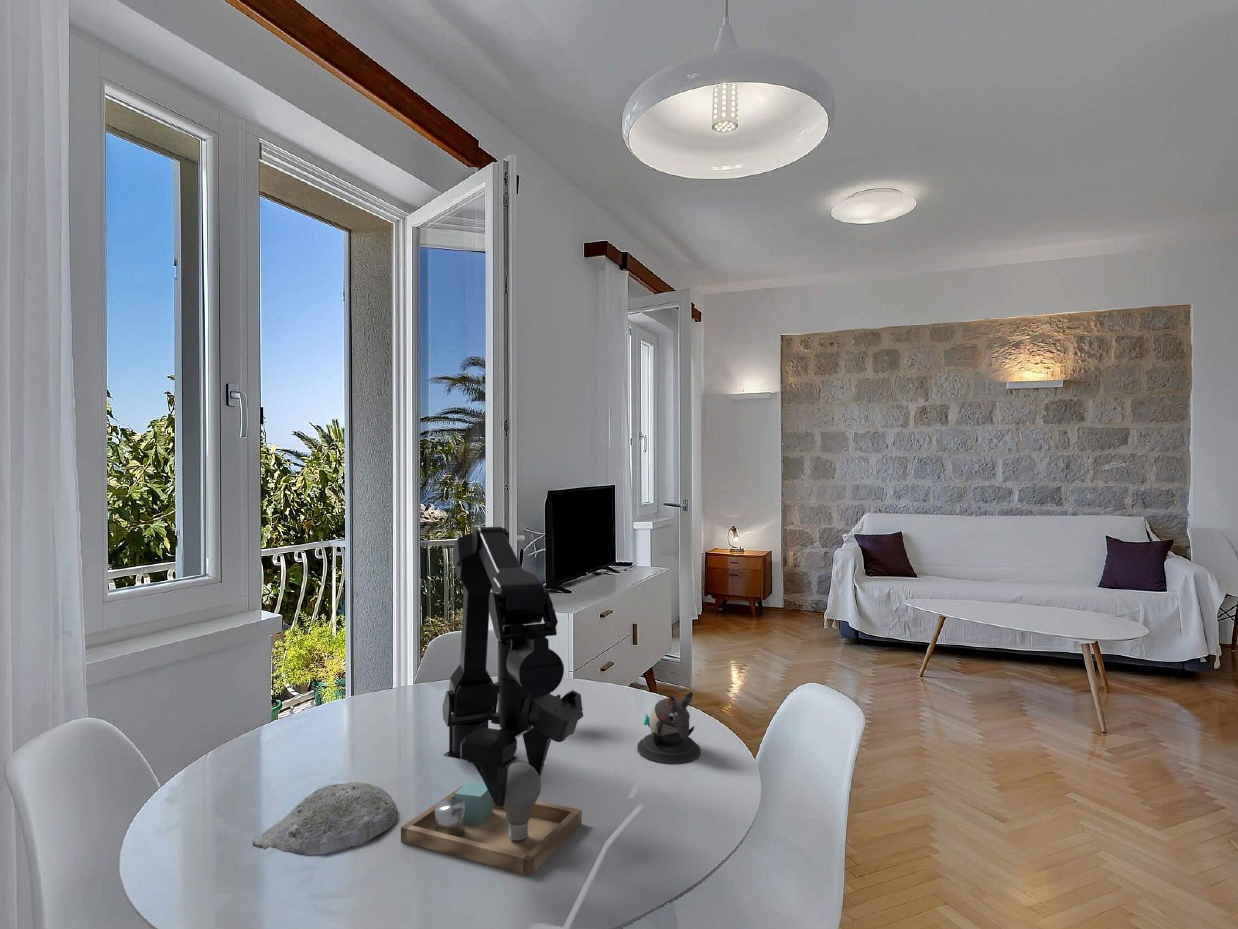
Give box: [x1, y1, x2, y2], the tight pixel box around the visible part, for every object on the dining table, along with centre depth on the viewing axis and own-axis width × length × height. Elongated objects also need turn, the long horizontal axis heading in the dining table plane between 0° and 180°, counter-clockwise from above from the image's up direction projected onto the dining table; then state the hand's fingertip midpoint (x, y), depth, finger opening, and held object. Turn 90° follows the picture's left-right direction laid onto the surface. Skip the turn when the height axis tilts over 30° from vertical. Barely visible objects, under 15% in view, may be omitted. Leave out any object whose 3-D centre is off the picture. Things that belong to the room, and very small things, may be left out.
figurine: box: [636, 691, 702, 765], centre depth 125 cm, size 11×12×12 cm
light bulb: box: [503, 761, 542, 841], centre depth 94 cm, size 6×6×10 cm
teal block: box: [455, 781, 493, 825], centre depth 100 cm, size 4×4×4 cm
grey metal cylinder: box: [435, 799, 465, 838], centre depth 95 cm, size 4×4×4 cm
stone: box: [252, 781, 400, 856], centre depth 98 cm, size 18×8×15 cm
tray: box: [400, 786, 583, 877], centre depth 95 cm, size 20×14×2 cm
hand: (518, 791), depth 94 cm, fingers open, 9 cm apart
